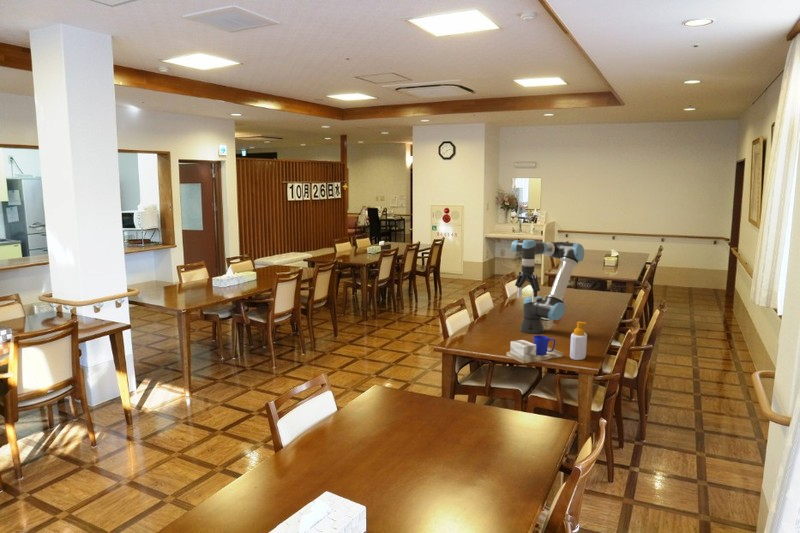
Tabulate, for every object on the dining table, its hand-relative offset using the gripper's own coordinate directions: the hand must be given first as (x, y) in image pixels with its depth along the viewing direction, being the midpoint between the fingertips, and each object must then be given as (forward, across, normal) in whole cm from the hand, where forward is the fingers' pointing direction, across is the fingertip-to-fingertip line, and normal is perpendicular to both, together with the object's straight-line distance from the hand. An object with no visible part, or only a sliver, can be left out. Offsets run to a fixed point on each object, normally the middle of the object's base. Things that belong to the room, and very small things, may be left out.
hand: (526, 300), depth 334 cm
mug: (+26, +25, -7) cm, 37 cm away
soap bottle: (+27, +36, +8) cm, 46 cm away
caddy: (+27, +24, -13) cm, 38 cm away
